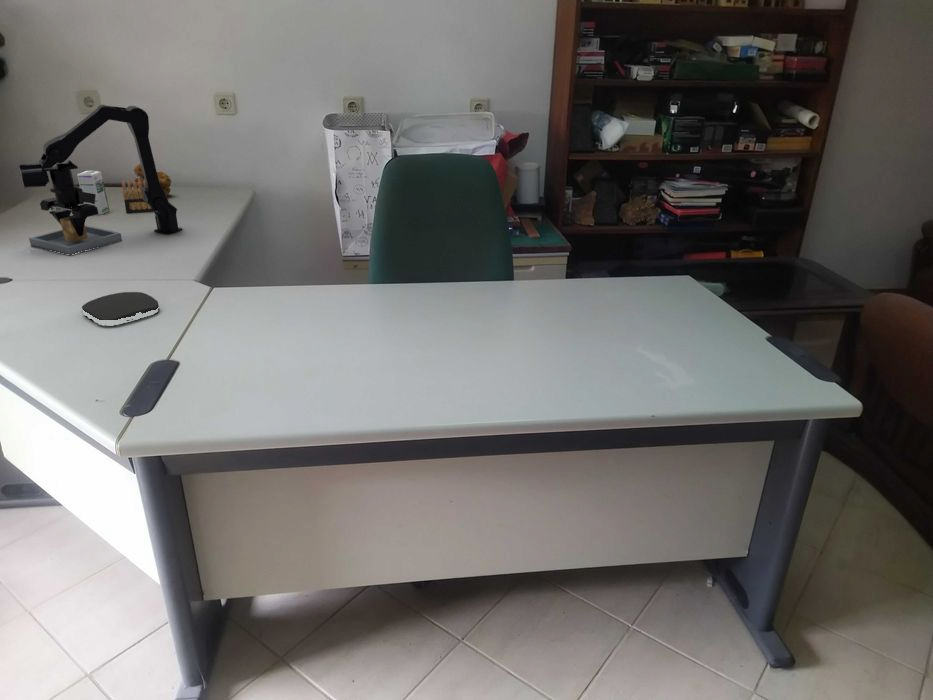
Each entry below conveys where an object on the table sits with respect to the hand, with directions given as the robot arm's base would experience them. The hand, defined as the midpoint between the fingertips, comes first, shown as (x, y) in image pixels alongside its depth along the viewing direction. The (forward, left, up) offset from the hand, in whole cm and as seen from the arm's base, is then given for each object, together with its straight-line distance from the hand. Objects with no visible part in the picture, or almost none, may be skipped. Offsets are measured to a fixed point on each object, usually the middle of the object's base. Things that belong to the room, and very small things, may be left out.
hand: (75, 234), depth 205 cm
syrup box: (+25, -27, -3) cm, 37 cm away
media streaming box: (-56, +30, -3) cm, 64 cm away
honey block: (0, 0, -1) cm, 1 cm away
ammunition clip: (+13, -36, -3) cm, 38 cm away
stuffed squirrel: (+27, -54, -3) cm, 60 cm away
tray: (0, 0, -3) cm, 3 cm away
